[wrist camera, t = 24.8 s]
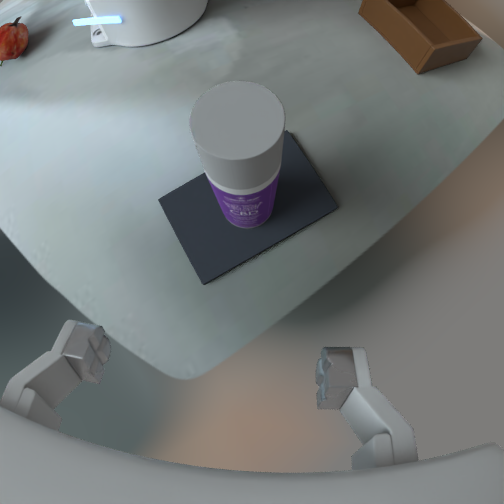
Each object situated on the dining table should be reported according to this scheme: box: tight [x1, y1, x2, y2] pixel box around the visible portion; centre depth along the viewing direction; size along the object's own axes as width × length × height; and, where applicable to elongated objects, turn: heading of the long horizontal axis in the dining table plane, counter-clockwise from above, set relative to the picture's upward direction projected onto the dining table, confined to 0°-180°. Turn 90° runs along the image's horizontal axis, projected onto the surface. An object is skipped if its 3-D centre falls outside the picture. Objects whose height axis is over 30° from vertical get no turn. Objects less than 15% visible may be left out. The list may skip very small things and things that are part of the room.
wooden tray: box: [358, 0, 482, 74], centre depth 29 cm, size 12×12×5 cm
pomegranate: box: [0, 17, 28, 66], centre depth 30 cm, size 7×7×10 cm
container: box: [189, 81, 285, 228], centre depth 21 cm, size 5×5×15 cm
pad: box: [158, 130, 338, 285], centre depth 29 cm, size 9×14×1 cm, turn 120°
